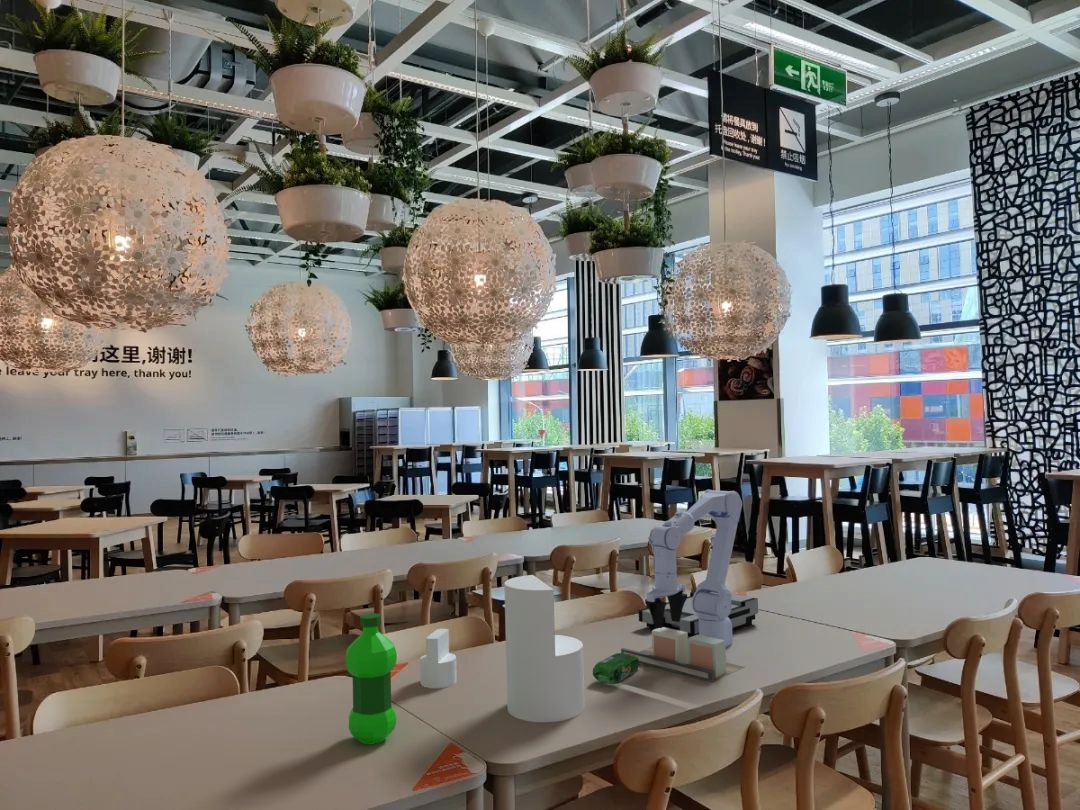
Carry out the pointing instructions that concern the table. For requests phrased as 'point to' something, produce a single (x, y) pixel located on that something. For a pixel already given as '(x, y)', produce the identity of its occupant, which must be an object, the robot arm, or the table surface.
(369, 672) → the plastic bottle
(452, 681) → the white stepped half-round block
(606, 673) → the snack package
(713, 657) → the sage carton
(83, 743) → the table surface
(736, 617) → the game console
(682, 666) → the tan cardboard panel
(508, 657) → the white stepped round block
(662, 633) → the cream carton
